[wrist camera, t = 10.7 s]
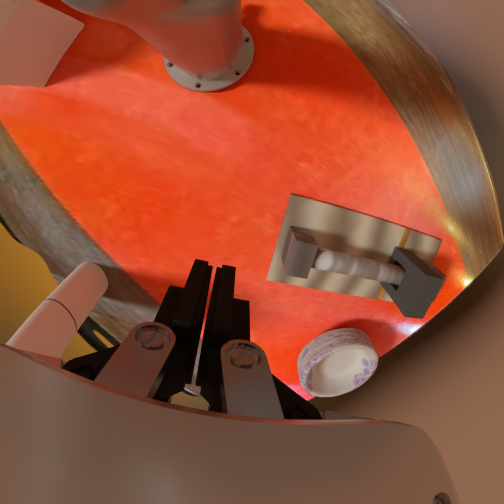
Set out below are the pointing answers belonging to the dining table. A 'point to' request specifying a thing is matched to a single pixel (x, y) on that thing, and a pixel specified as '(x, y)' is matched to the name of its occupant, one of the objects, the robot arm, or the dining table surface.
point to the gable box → (33, 41)
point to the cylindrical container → (62, 312)
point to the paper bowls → (336, 362)
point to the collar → (413, 284)
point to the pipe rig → (343, 249)
